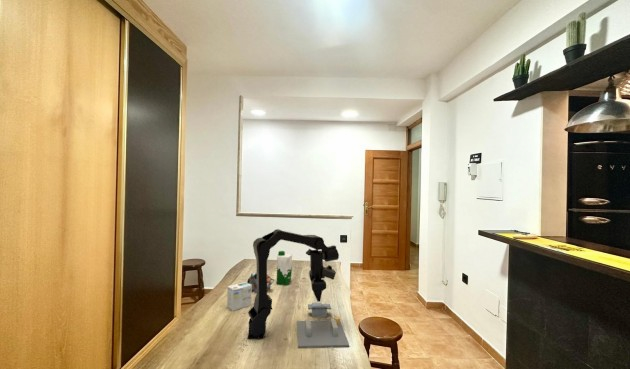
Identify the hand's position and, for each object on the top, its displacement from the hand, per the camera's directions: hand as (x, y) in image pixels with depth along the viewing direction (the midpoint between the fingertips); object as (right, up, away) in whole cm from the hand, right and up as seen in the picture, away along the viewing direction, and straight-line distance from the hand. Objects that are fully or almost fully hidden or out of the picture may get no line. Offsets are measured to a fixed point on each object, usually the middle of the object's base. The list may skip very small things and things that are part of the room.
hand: (317, 297), depth 128 cm
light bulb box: (-40, -11, +15) cm, 44 cm away
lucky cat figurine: (-34, -11, +39) cm, 53 cm away
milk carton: (-21, -12, +51) cm, 56 cm away
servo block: (+1, -12, +8) cm, 15 cm away
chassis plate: (+1, -12, -10) cm, 15 cm away
